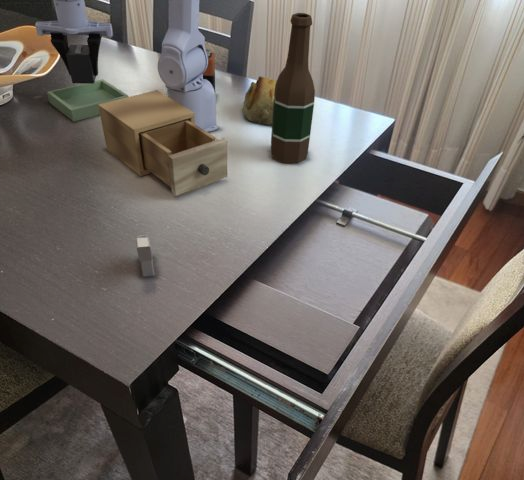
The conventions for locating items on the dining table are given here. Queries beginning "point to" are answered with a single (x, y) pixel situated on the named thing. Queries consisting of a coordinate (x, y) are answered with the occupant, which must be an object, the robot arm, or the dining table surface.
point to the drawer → (184, 155)
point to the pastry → (260, 101)
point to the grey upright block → (145, 255)
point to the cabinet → (137, 123)
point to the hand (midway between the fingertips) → (83, 73)
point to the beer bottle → (294, 97)
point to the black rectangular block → (80, 64)
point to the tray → (84, 99)
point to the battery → (210, 68)
